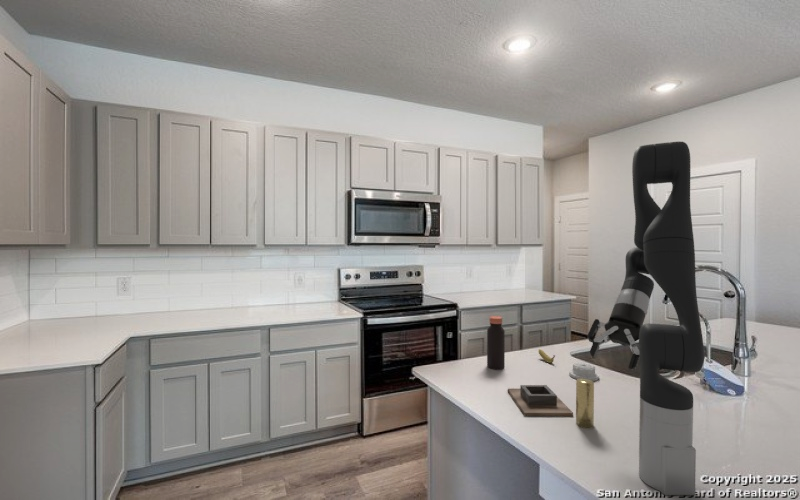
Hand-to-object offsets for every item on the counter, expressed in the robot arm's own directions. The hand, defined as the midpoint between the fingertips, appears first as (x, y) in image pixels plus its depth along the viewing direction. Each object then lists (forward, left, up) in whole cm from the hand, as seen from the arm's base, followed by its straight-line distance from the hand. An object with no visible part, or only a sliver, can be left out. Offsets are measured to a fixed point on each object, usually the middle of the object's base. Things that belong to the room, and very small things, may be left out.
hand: (611, 363), depth 97 cm
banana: (+64, -8, -20) cm, 67 cm away
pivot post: (+9, +2, -20) cm, 22 cm away
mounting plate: (+23, +10, -20) cm, 32 cm away
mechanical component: (+46, -15, -20) cm, 52 cm away
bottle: (+57, +15, -20) cm, 62 cm away
